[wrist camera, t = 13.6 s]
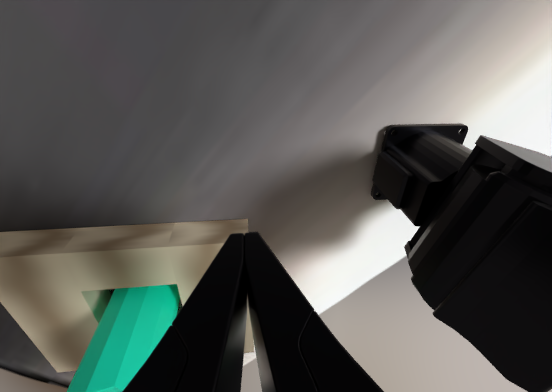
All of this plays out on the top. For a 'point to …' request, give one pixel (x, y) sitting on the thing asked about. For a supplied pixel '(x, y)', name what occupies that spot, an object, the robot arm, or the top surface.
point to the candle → (126, 337)
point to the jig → (99, 276)
